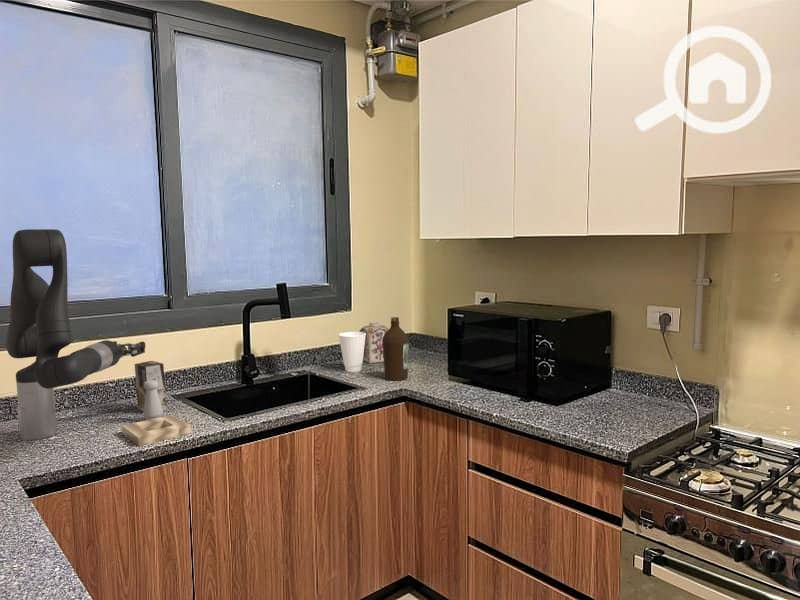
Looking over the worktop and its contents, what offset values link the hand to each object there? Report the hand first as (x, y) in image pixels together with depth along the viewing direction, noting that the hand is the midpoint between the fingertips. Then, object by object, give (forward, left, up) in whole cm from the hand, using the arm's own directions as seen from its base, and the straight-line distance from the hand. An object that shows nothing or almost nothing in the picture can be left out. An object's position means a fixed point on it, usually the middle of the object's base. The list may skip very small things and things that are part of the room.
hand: (129, 344), depth 172 cm
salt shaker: (+8, +8, -27) cm, 29 cm away
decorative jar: (+116, +26, -27) cm, 122 cm away
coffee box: (+12, +21, -27) cm, 36 cm away
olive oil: (+99, -8, -27) cm, 103 cm away
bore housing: (+4, -7, -27) cm, 28 cm away
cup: (+96, +17, -27) cm, 101 cm away
